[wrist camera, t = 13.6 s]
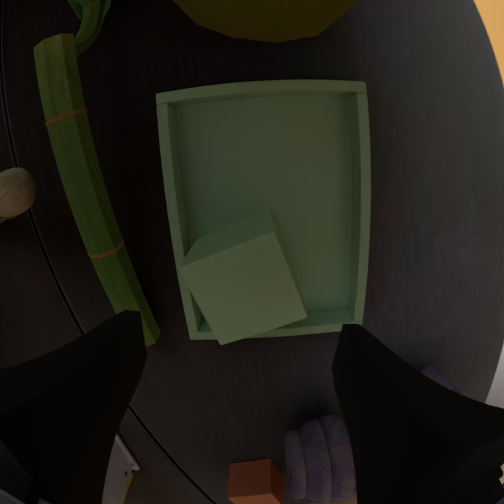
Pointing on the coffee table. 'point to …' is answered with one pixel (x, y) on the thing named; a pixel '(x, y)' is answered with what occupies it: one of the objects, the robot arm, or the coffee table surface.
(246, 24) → the apple
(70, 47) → the decorative plant
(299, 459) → the headphones
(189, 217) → the sage tray
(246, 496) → the terracotta block
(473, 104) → the coffee table surface
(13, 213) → the figurine
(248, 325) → the sage block
